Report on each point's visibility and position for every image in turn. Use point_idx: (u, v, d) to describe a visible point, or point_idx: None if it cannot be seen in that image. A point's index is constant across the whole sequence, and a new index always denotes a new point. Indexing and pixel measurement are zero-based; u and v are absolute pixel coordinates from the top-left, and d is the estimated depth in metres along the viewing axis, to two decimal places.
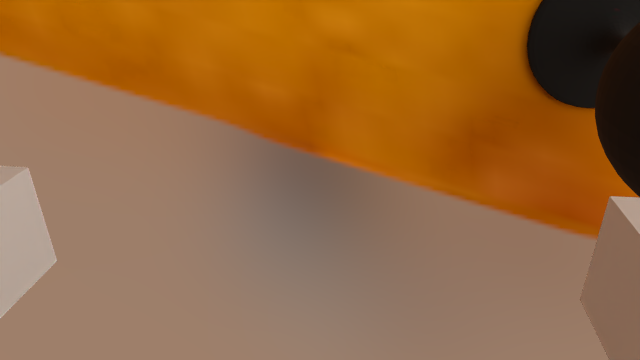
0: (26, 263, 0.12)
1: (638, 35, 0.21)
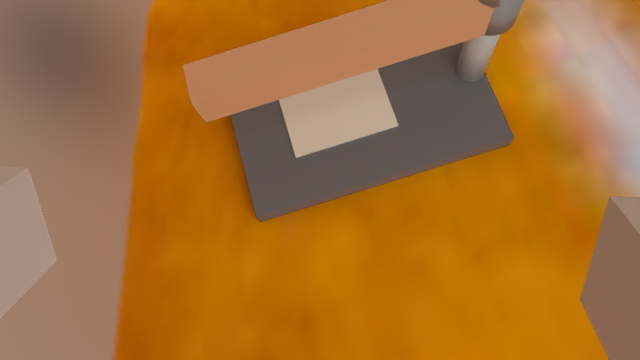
0: (26, 263, 0.12)
1: None
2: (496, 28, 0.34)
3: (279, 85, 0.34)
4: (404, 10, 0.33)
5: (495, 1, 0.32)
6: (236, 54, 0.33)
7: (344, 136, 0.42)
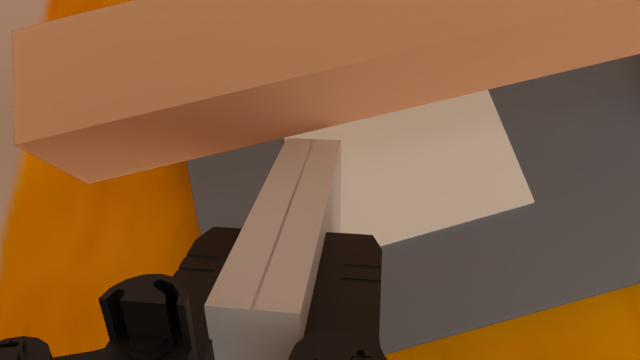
0: None
1: None
2: None
3: (279, 106, 0.12)
4: None
5: None
6: (163, 10, 0.12)
7: (419, 221, 0.20)
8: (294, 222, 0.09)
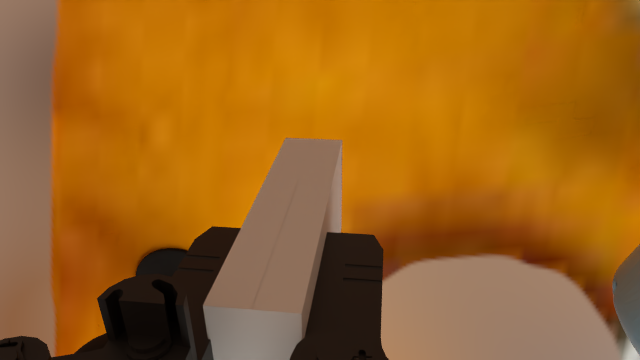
0: None
1: None
2: None
3: None
4: None
5: None
6: None
7: None
8: (295, 222, 0.09)
